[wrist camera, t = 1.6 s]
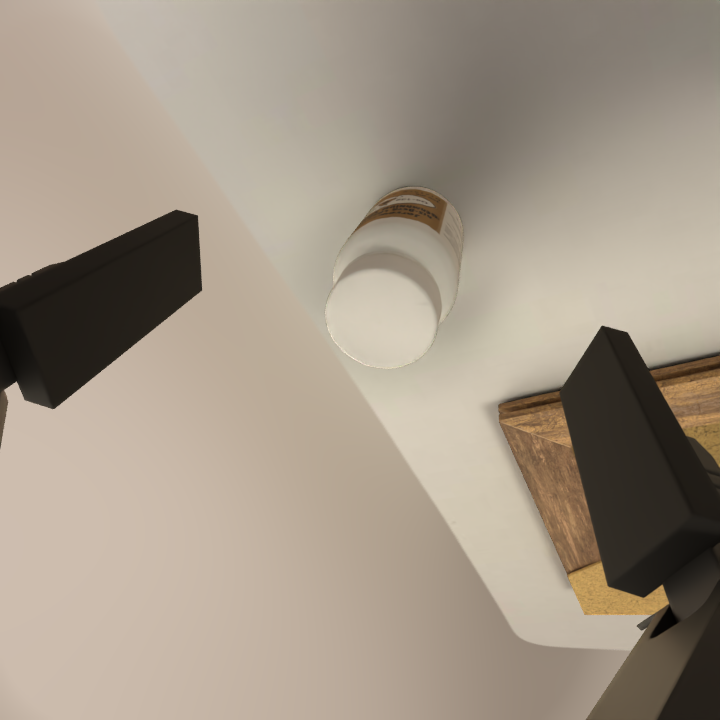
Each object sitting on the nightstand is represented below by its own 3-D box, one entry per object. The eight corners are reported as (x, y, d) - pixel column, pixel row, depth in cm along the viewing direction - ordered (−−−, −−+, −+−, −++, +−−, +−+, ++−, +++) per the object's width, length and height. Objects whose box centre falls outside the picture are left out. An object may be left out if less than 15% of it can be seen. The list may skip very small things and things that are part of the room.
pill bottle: (440, 164, 16) (415, 224, 10) (478, 261, 18) (477, 360, 12) (347, 212, 18) (281, 286, 12) (390, 295, 20) (351, 395, 14)
